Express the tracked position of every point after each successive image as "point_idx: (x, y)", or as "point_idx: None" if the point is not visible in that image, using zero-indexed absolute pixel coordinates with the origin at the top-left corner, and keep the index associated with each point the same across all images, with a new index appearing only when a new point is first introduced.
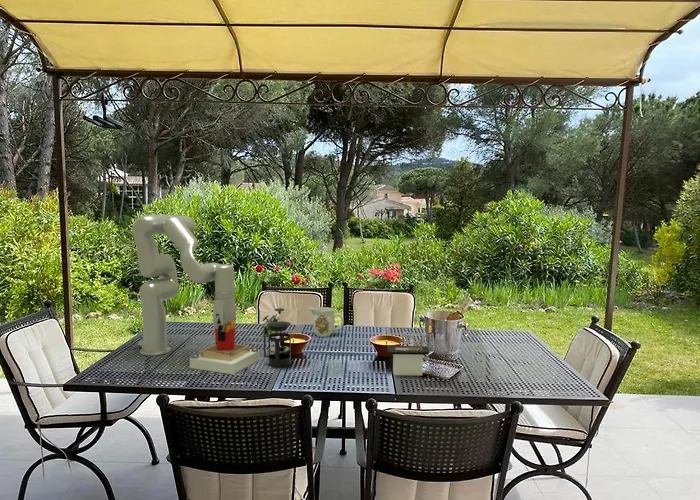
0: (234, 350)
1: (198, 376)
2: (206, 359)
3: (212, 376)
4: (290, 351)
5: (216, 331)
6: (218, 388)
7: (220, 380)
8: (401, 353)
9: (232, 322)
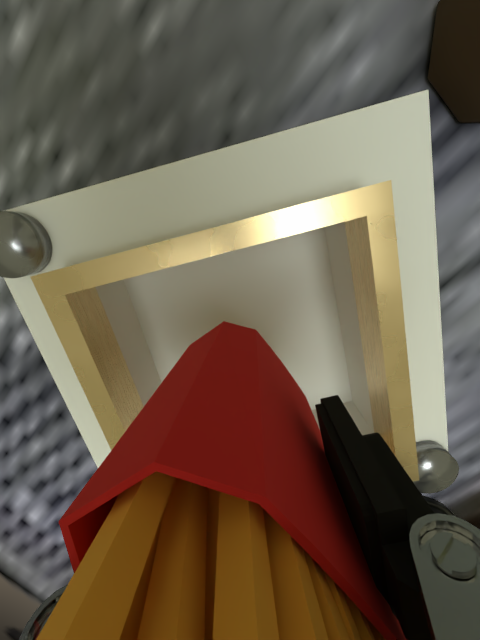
0: (360, 341)
1: (3, 387)
2: (65, 357)
3: (61, 438)
4: None
5: (102, 507)
6: (2, 555)
7: (60, 501)
8: None
9: None
